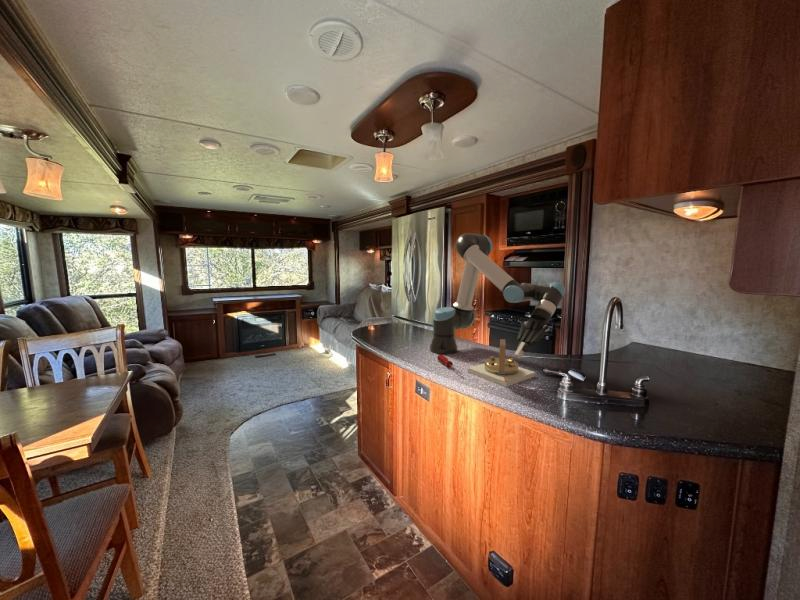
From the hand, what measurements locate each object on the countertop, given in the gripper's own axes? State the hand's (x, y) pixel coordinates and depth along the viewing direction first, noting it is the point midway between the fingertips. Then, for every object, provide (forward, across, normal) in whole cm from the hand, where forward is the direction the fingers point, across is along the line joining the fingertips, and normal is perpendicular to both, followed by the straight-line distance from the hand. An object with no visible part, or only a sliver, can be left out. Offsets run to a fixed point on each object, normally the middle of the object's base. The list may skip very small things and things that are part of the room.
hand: (517, 356), depth 130 cm
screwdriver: (+17, +26, +1) cm, 31 cm away
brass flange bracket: (+7, +6, -4) cm, 10 cm away
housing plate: (+7, +8, -8) cm, 13 cm away
